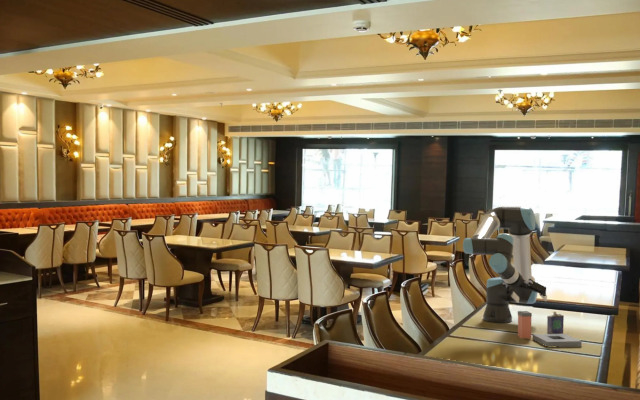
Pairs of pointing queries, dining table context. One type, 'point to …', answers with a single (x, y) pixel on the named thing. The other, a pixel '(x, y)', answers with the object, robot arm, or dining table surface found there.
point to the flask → (555, 324)
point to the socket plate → (557, 340)
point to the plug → (524, 324)
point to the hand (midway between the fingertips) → (532, 299)
